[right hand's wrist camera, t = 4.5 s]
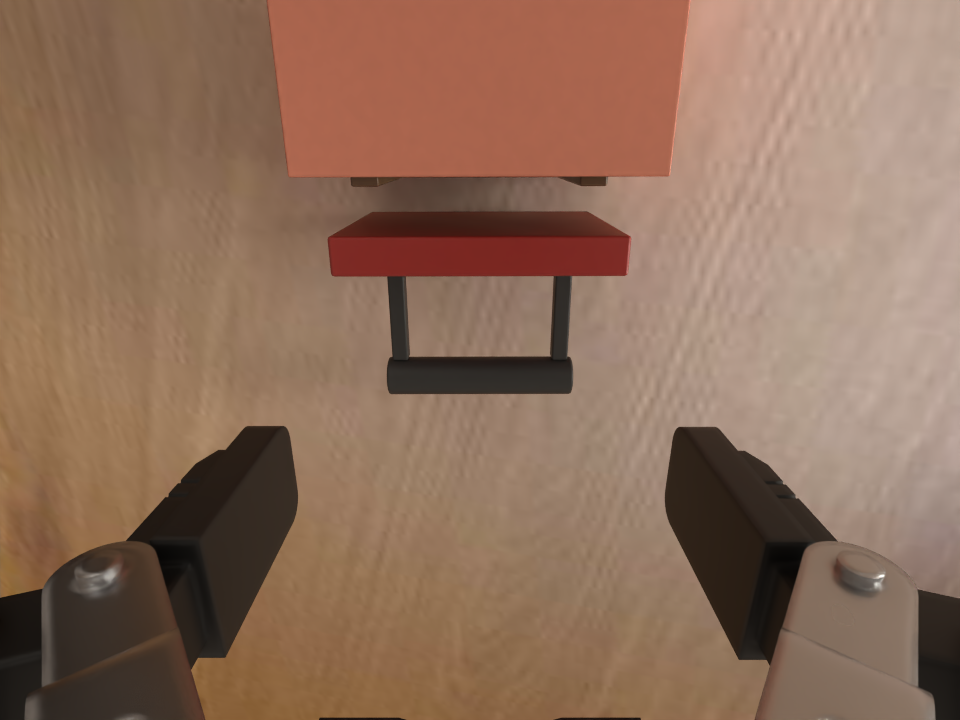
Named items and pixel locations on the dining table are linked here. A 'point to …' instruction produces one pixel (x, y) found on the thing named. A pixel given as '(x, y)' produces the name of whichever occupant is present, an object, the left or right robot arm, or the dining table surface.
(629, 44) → the cabinet
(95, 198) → the dining table surface
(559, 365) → the drawer
